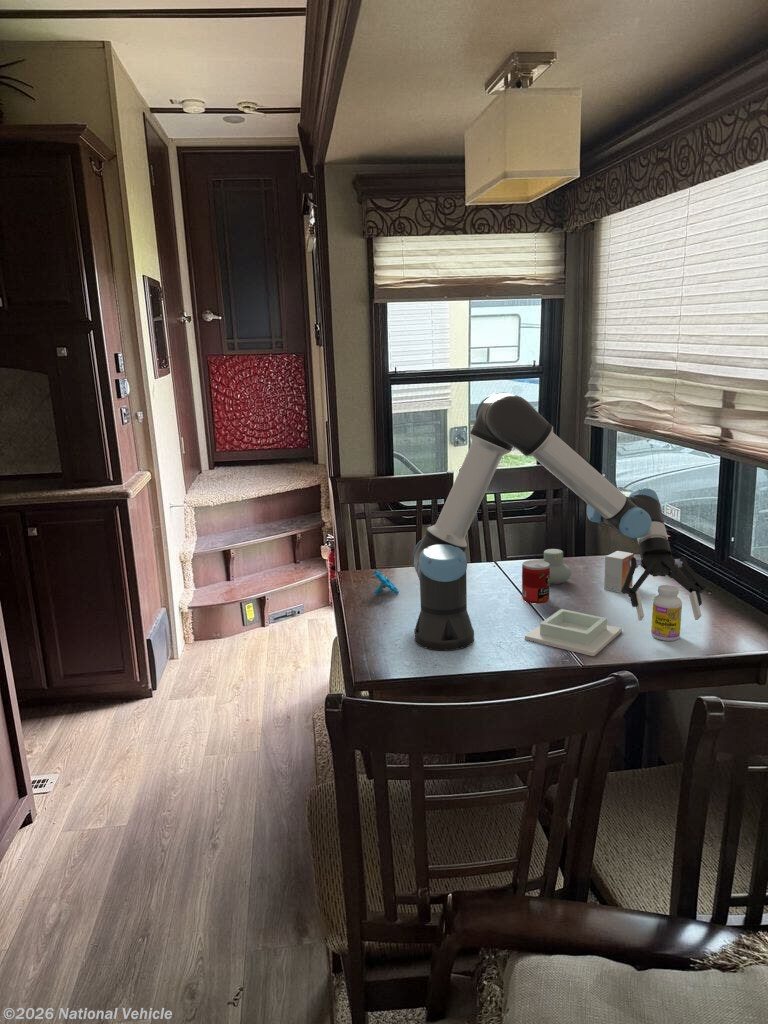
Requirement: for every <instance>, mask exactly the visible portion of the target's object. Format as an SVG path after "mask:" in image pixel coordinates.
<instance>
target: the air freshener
mask: <svg viewBox="0 0 768 1024" xmlns="http://www.w3.org/2000/svg"><path fill="white" fill-rule="evenodd" d="M543 561H545V562H548V563H549V564H550V585H559V584H562V583H565V582H567V581H568V580H570V577H571V576H572V571H571V569H570V567H569V566H568V565H567V564H566V563H564V551H563V550H561V549H560V548H559V549H558V548H548V549H545V550H544V551H543Z"/></svg>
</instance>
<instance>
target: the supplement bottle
mask: <svg viewBox="0 0 768 1024" xmlns="http://www.w3.org/2000/svg"><path fill="white" fill-rule="evenodd" d="M657 592H658V595H655V596H654V598H653V600H652V614H651V615H652V617H651V631H650V632H651V635H652V637H653V638H654V639H657V640H659V641H664V642H674V641H676V640H678V639H680V636H681V623H682V608H683V601H682V599H681V598H680V597H678V595H679V593H680V592H679V588H678V587H677V586H675V585H668V584H661V585H659V586H658V588H657Z"/></svg>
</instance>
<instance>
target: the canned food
mask: <svg viewBox="0 0 768 1024" xmlns="http://www.w3.org/2000/svg"><path fill="white" fill-rule="evenodd" d="M550 586H551V584H550V564H549V563H548V562H545V561H544V560H539V559H531V560H529V559H528V560H526V561H525V560H524V561H523V562H522V567H521V597H522V598H521V599H522V600H523V601H524V602H525V601H526V603H528V602H529V603H528V604H532V603H536V604H535V605H539V604H542V603H543V604H545V603H547V602H549V601H550Z"/></svg>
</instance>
